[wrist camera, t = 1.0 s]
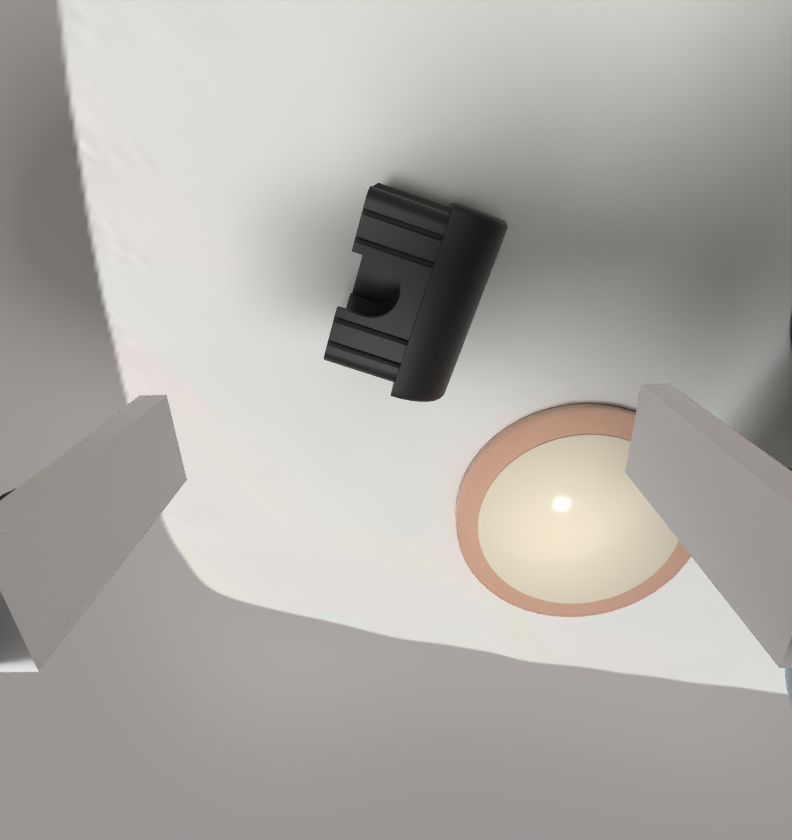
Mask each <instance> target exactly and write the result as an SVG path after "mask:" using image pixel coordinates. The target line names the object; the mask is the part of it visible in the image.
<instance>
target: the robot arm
mask: <svg viewBox="0 0 792 840" xmlns="http://www.w3.org/2000/svg"><path fill="white" fill-rule="evenodd" d="M791 335H792V333H791ZM625 473H626V474H627V476H628V477H629V478H630V479H631V481H632V482H633V483H634V484H635V486H636V487H637V488H638V489H639V491H640V492H641V493H642V494H643V496H644V497H645V498H646V500H647V501H648V502H649V503H650V505H651V506H652V507H653V508H654V510H655V511H656V512H657V513H658V515H659V516H660V517H661V519H662V520H663V521H664V522H665V524H666V525H667V526H668V527H669V529H670V530H671V531H672V532H673V534H674V535H675V536H676V537H677V539H678V540H679V541H680V543H681V544H682V545H683V546H684V548H685V549H686V550H687V551H688V553H689V554H690V555H691V556H692V558H693V559H694V560H695V562H696V563H697V564H698V565H699V567H700V568H701V569H702V570H703V572H704V573H705V574H706V575H707V577H708V578H709V579H710V580H711V582H712V583H713V584H714V586H715V587H716V588H717V589H718V591H719V592H720V593H721V594H722V596H723V597H724V598H725V599H726V601H727V602H728V603H729V605H730V606H731V607H732V608H733V610H734V611H735V612H736V613H737V615H738V616H739V617H740V618H741V620H742V621H743V622H744V623H745V625H746V626H747V627H748V629H749V630H750V631H751V632H752V634H753V635H754V636H755V637H756V639H757V640H758V641H759V642H760V644H761V645H762V646H763V648H764V649H765V650H766V651H767V653H768V654H769V655H770V656H771V658H772V659H773V660H774V661H775V663H776V664H777V665H778V666H779V668H786V669H785V676H786V685H787V690H788V694H789V698H790V701H791V705H792V469H791V468H789V467H785V466H784V465H782V464H781V463H780V462H778V461H777V460H775V459H774V458H773V457H771V456H770V455H768V454H767V453H766V452H764V451H763V450H761V449H760V448H759V447H757V446H756V445H754V444H753V443H752V442H750V441H749V440H747V439H746V438H745V437H743V436H742V435H740V434H739V433H738V432H736V431H735V430H733V429H732V428H731V427H729V426H728V425H726V424H725V423H724V422H722V421H721V420H719V419H718V418H717V417H715V416H714V415H712V414H711V413H710V412H708V411H707V410H705V409H704V408H703V407H701V406H700V405H698V404H697V403H696V402H694V401H693V400H691V399H690V398H689V397H687V396H686V395H684V394H683V393H682V392H680V391H679V390H677V389H676V388H675V387H673V386H672V385H670V384H645V385H641V388H640V393H639V399H638V404H637V410H636V415H635V420H634V426H633V431H632V437H631V442H630V447H629V453H628V458H627V464H626V469H625ZM186 480H187V479H186V475H185V471H184V467H183V462H182V458H181V454H180V450H179V446H178V441H177V437H176V433H175V429H174V425H173V421H172V416H171V412H170V408H169V404H168V400H167V396H166V395H153V396H139V397H137V398H136V399H135V400H133V401H132V402H131V403H129V404H128V405H127V406H125V407H124V408H123V409H121V410H120V411H119V412H118V413H116V414H115V415H113V416H112V417H111V418H110V419H108V420H107V421H105V422H104V423H103V424H101V425H100V426H99V427H98V428H96V429H95V430H94V431H92V432H91V433H89V434H88V435H87V436H86V437H84V438H83V439H81V440H80V441H79V442H78V443H76V444H75V445H73V446H72V447H71V448H70V449H68V450H67V451H66V452H64V453H63V454H62V455H60V456H59V457H58V458H56V459H55V460H54V461H52V462H51V463H50V464H48V465H47V466H46V467H44V468H43V469H42V470H40V471H39V472H38V473H36V474H35V475H34V476H32V477H31V478H30V479H28V480H27V481H26V482H24V483H23V484H22V485H20V486H19V487H18V488H16V489H14V490H12V491H10V492H7V493H5V494H3V495H2V496H0V672H39V671H40V669H41V668H42V667H43V665H44V664H45V663H46V662H47V660H48V659H49V658H50V656H51V655H52V654H53V652H54V651H55V650H56V649H57V647H58V646H59V645H60V643H61V642H62V641H63V639H64V638H65V637H66V636H67V634H68V633H69V632H70V630H71V629H72V628H73V626H74V625H75V624H76V623H77V621H78V620H79V619H80V617H81V616H82V615H83V614H84V612H85V611H86V610H87V608H88V607H89V606H90V605H91V603H92V602H93V601H94V599H95V598H96V597H97V595H98V594H99V593H100V592H101V590H102V589H103V588H104V586H105V585H106V584H107V582H108V581H109V580H110V579H111V577H112V576H113V575H114V573H115V572H116V571H117V570H118V568H119V567H120V566H121V564H122V563H123V562H124V560H125V559H126V558H127V557H128V555H129V554H130V553H131V551H132V550H133V548H134V547H135V546H136V544H137V543H138V542H139V541H140V540H141V538H142V537H143V535H144V534H145V533H146V532H147V531H148V529H149V528H150V527H151V525H152V524H153V523H154V521H155V520H156V519H157V518H158V516H159V515H160V514H161V512H162V511H163V510H164V509H165V507H166V506H167V505H168V503H169V502H170V501H171V499H172V498H173V497H174V496H175V494H176V493H177V492H178V490H179V489H180V488H181V487H182V485H183V484H184V483H185V481H186Z"/></svg>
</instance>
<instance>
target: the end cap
mask: <svg viewBox="0 0 792 840" xmlns="http://www.w3.org/2000/svg"><path fill="white" fill-rule="evenodd" d="M506 230H507V223H506V222H505V221H503V220H501V219H498V218H496V217H493V216H491V215H488V214H485V213H482V212H480V211H477V210H474V209H471V208H468V207H466V206H463V205H460V204H457V203H452V204H451V205H450V207H447V206H444V205H441V204H438V203H435V202H432V201H429V200H426V199H424V198H421V197H418V196H415V195H412V194H409V193H406V192H403V191H400V190H398V189H395V188H392V187H389V186H386V185H383V184H380V183H377V184H376V185H374V186H370V188H369V190H368V193H367V196H366V200H365V203H364V207H363V211H362V215H361V218H360V222H359V226H358V230H357V234H356V237H355V241H354V245H353V249H352V251H353V252H356V253H359V254H362V255H363V256H362V260H361V263H360V267H359V271H358V274H357V278H356V282H355V285H354V289H353V293H351V294H350V297H349V300H348V304H347V308H346V309H345V308H342V307H339V306H338V307H337V309H336V313H335V317H334V321H333V325H332V328H331V332H330V336H329V340H328V344H327V347H326V351H325V355H324V360H327V361H330V362H333V363H336V364H339V365H343V366H346V367H349V368H352V369H355V370H358V371H361V372H364V373H367V374H371V375H374V376H377V377H380V378H383V379H386V380H389V381H392V382H394V383H393V387H392V392H391V396H393V397H397V398H400V399H405V400H410V401H419V402H429V401H435V400H437V399H440V398H441V397H442V396H443V395H444V393H445V391H446V388H447V385H448V383H449V380H450V378H451V375H452V372H453V370H454V367H455V364H456V362H457V359H458V356H459V354H460V351H461V349H462V346H463V343H464V341H465V338H466V335H467V333H468V330H469V328H470V325H471V322H472V320H473V317H474V314H475V312H476V309H477V306H478V304H479V301H480V299H481V296H482V293H483V291H484V288H485V285H486V283H487V280H488V278H489V275H490V272H491V270H492V267H493V264H494V262H495V259H496V257H497V254H498V251H499V249H500V246H501V243H502V241H503V238H504V235H505V233H506Z"/></svg>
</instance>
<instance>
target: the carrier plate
mask: <svg viewBox="0 0 792 840" xmlns="http://www.w3.org/2000/svg"><path fill="white" fill-rule="evenodd" d="M635 415H636V413H635V412H633V411H629V410H626V409H623V408H619V407H614V406H608V405H602V404H575V405H565V406H560V407H555V408H550V409H547V410H544V411H541V412H537V413H534V414H532V415H530V416H528V417H525V418H523V419H521V420H519V421H517V422H515V423H514V424H512V425H510V426H509V427H507V428H505V429H504V430H502V431H501V432H500V433H499V434H497V435H496V436H495V437H494V438H492V439H491V440H490V441H489V442H488V443H487V444H486V445H485V446H484V447H483V448H482V449H481V450H480V451H479V453H478V454H477V455H476V457H475V458H474V459H473V461H472V462H471V464H470V465H469V467H468V469H467V471H466V473H465V474H464V477H463V479H462V482H461V484H460V487H459V491H458V496H457V500H456V526H457V538H458V542H459V546H460V550H461V552H462V555H463V557H464V559H465V562H466V563H467V565H468V567H469V568H470V570H471V572H472V573H473V574H474V575H475V577H476V578H477V579H478V580H479V581H480V582H481V583H482V584H483V585H484V586H485V587H486V588H487V589H488V590H489V591H491V592H492V593H493V594H495V595H496V596H498V597H499V598H501V599H502V600H504V601H506V602H508V603H510V604H512V605H514V606H517V607H519V608H522V609H524V610H527V611H531V612H535V613H538V614H544V615H550V616H561V617H580V616H589V615H597V614H602V613H606V612H610V611H614V610H617V609H620V608H623V607H626V606H628V605H631V604H633V603H635V602H637V601H640V600H642V599H643V598H645V597H647V596H649V595H650V594H652V593H654V592H655V591H657V590H658V589H659V588H661V587H662V586H663V585H665V584H666V583H667V582H668V581H669V580H671V579H672V578H673V577H674V576H675V575H676V574H677V573H678V572H679V571H680V570H681V568H682V567H683V566H684V565H685V564H686V563H687V561H688V560H689V558H690V557H691V555H690V554H689V553H688V551H687V550H686V549H685V548H684V546H683V545H682V544H681V543H680V541H679V540H678V539H677V537H676V536H675V535H674V534H673V532H672V531H671V530H670V529H669V527H668V526H667V525H666V524H665V522H664V521H663V520H662V519H661V517H660V516H659V515H658V513H657V512H656V511H655V510H654V508H653V507H652V506H651V505H650V503H649V502H648V501H647V500H646V498H645V497H644V496H643V494H642V493H641V492H640V491H639V489H638V488H637V487H636V486H635V484H634V483H633V482H632V481H631V479H630V478H629V477H628V476H627V474H626V473H625V469H626V464H627V458H628V453H629V447H630V442H631V437H632V431H633V426H634V420H635Z"/></svg>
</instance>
